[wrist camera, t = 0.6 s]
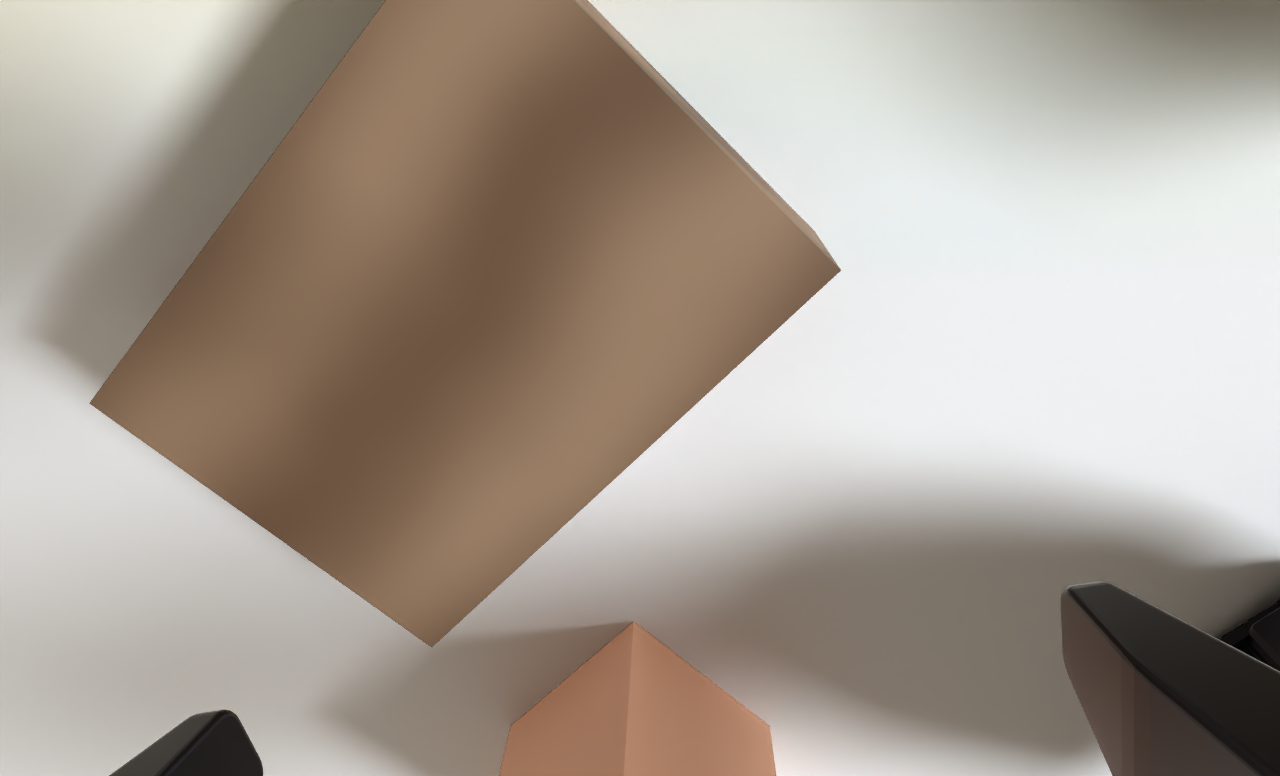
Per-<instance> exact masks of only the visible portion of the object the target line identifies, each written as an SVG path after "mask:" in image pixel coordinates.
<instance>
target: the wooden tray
mask: <svg viewBox="0 0 1280 776" xmlns="http://www.w3.org/2000/svg"><path fill="white" fill-rule="evenodd" d="M840 271H841V269H840V268H839V267H838V265H837V264H836V262H835V261H834V259H833V258H832V256H831V255H830V253H829V252H828V250H827V249H826V247H825V246H824V245H823V243H822V242H821V240H820V239H819V237H818V236H817V234H816V233H815V231H814V230H813V229H812V228H811V227H810V226H809V225H808V224H807V223H806V222H805V221H804V220H803V219H802V218H801V217H800V216H799V215H798V214H797V213H796V212H795V211H794V210H793V209H792V208H791V207H790V206H789V205H788V204H787V203H786V202H785V201H784V200H783V199H782V198H781V197H780V196H779V195H778V194H777V193H776V192H775V191H774V190H773V189H772V188H771V186H770V185H769V184H768V183H767V182H766V181H765V180H764V179H763V178H762V177H761V176H760V175H759V174H758V173H757V172H756V171H755V170H754V169H753V168H752V167H751V166H750V165H749V164H748V163H747V162H746V161H745V160H744V159H743V158H742V157H741V156H740V155H739V154H738V153H737V152H736V151H735V150H734V149H733V148H732V147H731V146H730V145H729V144H728V143H727V142H726V141H725V140H724V139H723V138H722V137H721V136H720V135H719V134H718V133H717V132H716V131H715V130H714V129H713V127H712V126H711V125H710V124H709V123H708V122H707V121H706V120H705V119H704V118H703V117H702V116H701V115H700V114H699V113H698V112H697V111H696V110H695V109H694V108H693V107H692V106H691V105H690V104H689V103H688V102H687V101H686V100H685V99H684V98H683V97H682V96H681V95H680V94H679V93H678V92H677V91H676V90H675V89H674V88H673V87H672V86H671V85H670V84H669V83H668V82H667V81H666V80H665V79H664V78H663V77H662V76H661V75H660V74H659V73H658V72H657V71H656V70H655V68H654V67H653V66H652V65H651V64H650V63H649V62H648V61H647V60H646V59H645V58H644V57H643V56H642V55H641V54H640V53H639V52H638V51H637V50H636V49H635V48H634V47H633V46H632V45H631V44H630V43H629V42H628V41H627V40H626V39H625V38H624V37H623V36H622V35H621V34H620V33H619V32H618V31H617V30H616V29H615V28H614V27H613V26H612V25H611V24H610V23H609V22H608V21H607V20H606V19H605V18H604V17H603V16H602V15H601V14H600V13H599V12H598V11H597V10H596V8H595V7H594V6H593V5H592V4H591V3H590V2H589V1H588V0H386V1H385V2H384V3H383V5H382V6H381V7H380V9H379V10H378V12H377V13H376V14H375V16H374V17H373V18H372V20H371V21H370V22H369V24H368V25H367V27H366V28H365V29H364V31H363V32H362V33H361V35H360V36H359V37H358V39H357V40H356V41H355V43H354V44H353V46H352V47H351V48H350V50H349V51H348V52H347V54H346V55H345V56H344V58H343V59H342V61H341V62H340V63H339V65H338V66H337V67H336V69H335V70H334V71H333V73H332V74H331V75H330V77H329V78H328V80H327V81H326V82H325V84H324V85H323V86H322V88H321V89H320V90H319V92H318V93H317V95H316V96H315V97H314V99H313V100H312V101H311V103H310V104H309V105H308V107H307V108H306V109H305V111H304V112H303V114H302V115H301V116H300V118H299V119H298V120H297V122H296V123H295V124H294V126H293V127H292V129H291V130H290V131H289V133H288V134H287V135H286V137H285V138H284V139H283V141H282V142H281V143H280V145H279V146H278V148H277V149H276V150H275V152H274V153H273V154H272V156H271V157H270V158H269V160H268V161H267V163H266V164H265V165H264V167H263V168H262V169H261V171H260V172H259V173H258V175H257V176H256V177H255V179H254V180H253V182H252V183H251V184H250V186H249V187H248V188H247V190H246V191H245V192H244V194H243V195H242V197H241V198H240V199H239V201H238V202H237V203H236V205H235V206H234V207H233V209H232V210H231V211H230V213H229V214H228V216H227V217H226V218H225V220H224V221H223V222H222V224H221V225H220V226H219V228H218V229H217V231H216V232H215V233H214V235H213V236H212V237H211V239H210V240H209V241H208V243H207V244H206V245H205V247H204V248H203V250H202V251H201V252H200V254H199V255H198V256H197V258H196V259H195V260H194V262H193V263H192V265H191V266H190V267H189V269H188V270H187V271H186V273H185V274H184V275H183V277H182V278H181V279H180V281H179V282H178V284H177V285H176V286H175V288H174V289H173V290H172V292H171V293H170V294H169V296H168V297H167V299H166V300H165V301H164V303H163V304H162V305H161V307H160V308H159V309H158V311H157V312H156V313H155V315H154V316H153V318H152V319H151V320H150V322H149V323H148V324H147V326H146V327H145V328H144V330H143V331H142V333H141V334H140V335H139V337H138V338H137V339H136V341H135V342H134V343H133V345H132V346H131V347H130V349H129V350H128V352H127V353H126V354H125V356H124V357H123V358H122V360H121V361H120V362H119V364H118V365H117V366H116V368H115V369H114V371H113V372H112V373H111V375H110V376H109V377H108V379H107V380H106V381H105V383H104V384H103V386H102V387H101V388H100V390H99V391H98V392H97V394H96V395H95V396H94V398H93V399H92V400H91V402H90V404H91V405H93V406H94V407H95V408H97V409H98V410H100V411H101V412H102V413H104V414H105V415H107V416H108V417H109V418H111V419H112V420H114V421H115V422H116V423H118V424H119V425H121V426H122V427H123V428H125V429H126V430H128V431H129V432H130V433H132V434H133V435H135V436H136V437H137V438H139V439H140V440H142V441H143V442H144V443H146V444H147V445H149V446H150V447H151V448H153V449H154V450H156V451H157V452H158V453H160V454H161V455H163V456H164V457H165V458H167V459H168V460H170V461H171V462H172V463H174V464H175V465H177V466H178V467H179V468H181V469H182V470H184V471H185V472H186V473H188V474H189V475H191V476H192V477H193V478H195V479H196V480H198V481H199V482H200V483H202V484H203V485H205V486H206V487H208V488H209V489H210V490H212V491H213V492H215V493H216V494H217V495H219V496H220V497H222V498H223V499H224V500H226V501H227V502H229V503H230V504H231V505H233V506H234V507H236V508H237V509H238V510H240V511H241V512H243V513H244V514H245V515H247V516H248V517H250V518H251V519H252V520H254V521H255V522H257V523H258V524H259V525H261V526H262V527H264V528H265V529H266V530H268V531H269V532H271V533H272V534H273V535H275V536H276V537H278V538H279V539H280V540H282V541H283V542H285V543H286V544H287V545H289V546H290V547H292V548H293V549H294V550H296V551H297V552H299V553H300V554H301V555H303V556H304V557H306V558H307V559H308V560H310V561H311V562H313V563H314V564H315V565H317V566H318V567H320V568H321V569H322V570H324V571H325V572H327V573H328V574H329V575H331V576H332V577H334V578H335V579H336V580H338V581H339V582H341V583H342V584H343V585H345V586H346V587H348V588H349V589H350V590H352V591H353V592H355V593H356V594H357V595H359V596H360V597H362V598H363V599H364V600H366V601H367V602H369V603H370V604H371V605H373V606H374V607H376V608H377V609H378V610H380V611H381V612H383V613H384V614H385V615H387V616H388V617H390V618H391V619H392V620H394V621H395V622H397V623H398V624H399V625H401V626H402V627H404V628H405V629H406V630H408V631H409V632H411V633H412V634H414V635H415V636H416V637H418V638H419V639H421V640H422V641H423V642H425V643H426V644H428V645H429V646H430V647H433V646H434V645H435V644H436V643H437V642H438V641H439V640H440V639H441V638H443V637H444V636H445V635H446V634H447V633H448V632H449V631H450V630H451V629H452V628H453V627H454V626H456V625H457V624H458V623H459V622H460V621H461V620H462V619H463V618H464V617H465V616H466V615H467V614H469V613H470V612H471V611H472V610H473V609H474V608H475V607H476V606H477V605H478V604H479V603H480V602H482V601H483V600H484V599H485V598H486V597H487V596H488V595H489V594H490V593H491V592H492V591H494V590H495V589H496V588H497V587H498V586H499V585H500V584H501V583H502V582H503V581H504V580H505V579H507V578H508V577H509V576H510V575H511V574H512V573H513V572H514V571H515V570H516V569H517V568H518V567H520V566H521V565H522V564H523V563H524V562H525V561H526V560H527V559H528V558H529V557H530V556H531V555H533V554H534V553H535V552H536V551H537V550H538V549H539V548H540V547H541V546H542V545H543V544H545V543H546V542H547V541H548V540H549V539H550V538H551V537H552V536H553V535H554V534H555V533H556V532H558V531H559V530H560V529H561V528H562V527H563V526H564V525H565V524H566V523H567V522H568V521H569V520H571V519H572V518H573V517H574V516H575V515H576V514H577V513H578V512H579V511H580V510H581V509H583V508H584V507H585V506H586V505H587V504H588V503H589V502H590V501H591V500H592V499H593V498H594V497H596V496H597V495H598V494H599V493H600V492H601V491H602V490H603V489H604V488H605V487H606V486H607V485H609V484H610V483H611V482H612V481H613V480H614V479H615V478H616V477H617V476H618V475H619V474H620V473H622V472H623V471H624V470H625V469H626V468H627V467H628V466H629V465H630V464H631V463H632V462H634V461H635V460H636V459H637V458H638V457H639V456H640V455H641V454H642V453H643V452H644V451H645V450H647V449H648V448H649V447H650V446H651V445H652V444H653V443H654V442H655V441H656V440H657V439H658V438H660V437H661V436H662V435H663V434H664V433H665V432H666V431H667V430H668V429H669V428H670V427H671V426H673V425H674V424H675V423H676V422H677V421H678V420H679V419H680V418H681V417H682V416H683V415H685V414H686V413H687V412H688V411H689V410H690V409H691V408H692V407H693V406H694V405H695V404H696V403H698V402H699V401H700V400H701V399H702V398H703V397H704V396H705V395H706V394H707V393H708V392H709V391H711V390H712V389H713V388H714V387H715V386H716V385H717V384H718V383H719V382H720V381H721V380H723V379H724V378H725V377H726V376H727V375H728V374H729V373H730V372H731V371H732V370H733V369H734V368H736V367H737V366H738V365H739V364H740V363H741V362H742V361H743V360H744V359H745V358H746V357H747V356H749V355H750V354H751V353H752V352H753V351H754V350H755V349H756V348H757V347H758V346H759V345H760V344H762V343H763V342H764V341H765V340H766V339H767V338H768V337H769V336H770V335H771V334H772V333H774V332H775V331H776V330H777V329H778V328H779V327H780V326H781V325H782V324H783V323H784V322H785V321H787V320H788V319H789V318H790V317H791V316H792V315H793V314H794V313H795V312H796V311H797V310H798V309H800V308H801V307H802V306H803V305H804V304H805V303H806V302H807V301H808V300H809V299H810V298H811V297H813V296H814V295H815V294H816V293H817V292H818V291H819V290H820V289H821V288H822V287H823V286H825V285H826V284H827V283H828V282H829V281H830V280H831V279H832V278H833V277H834V276H835V275H836V274H838V273H839V272H840Z"/></svg>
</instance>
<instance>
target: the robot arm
mask: <svg viewBox="0 0 1280 776" xmlns="http://www.w3.org/2000/svg"><path fill="white" fill-rule="evenodd" d="M1061 623H1062V648H1063V657H1064V662H1065V666H1066V669H1067V672H1068V675H1069V677H1070V680H1071V682H1072V684H1073V687H1074V689H1075V691H1076V694H1077V696H1078V698H1079V700H1080V703H1081V705H1082V707H1083V709H1084V712H1085V714H1086V716H1087V719H1088V721H1089V723H1090V725H1091V728H1092V730H1093V732H1094V735H1095V737H1096V739H1097V741H1098V744H1099V746H1100V748H1101V750H1102V753H1103V755H1104V757H1105V760H1106V762H1107V764H1108V766H1109V769H1110V771H1111V773H1112V775H1113V776H1280V601H1279V602H1278V603H1276V604H1274V605H1273V606H1271V607H1270V608H1268V609H1267V610H1265V611H1263V612H1262V613H1260V614H1259V615H1257V616H1255V617H1254V618H1252V619H1251V620H1249V621H1248V622H1246V623H1244V624H1243V625H1241V626H1240V627H1238V628H1237V629H1235V630H1233V631H1232V632H1230V633H1229V634H1227V635H1225V636H1224V637H1222V638H1221V639H1217V638H1215V637H1213V636H1211V635H1209V634H1207V633H1206V632H1204V631H1202V630H1200V629H1198V628H1196V627H1194V626H1192V625H1190V624H1189V623H1187V622H1185V621H1183V620H1181V619H1179V618H1177V617H1175V616H1173V615H1171V614H1170V613H1168V612H1166V611H1164V610H1162V609H1160V608H1158V607H1156V606H1154V605H1152V604H1151V603H1149V602H1147V601H1145V600H1143V599H1141V598H1139V597H1137V596H1135V595H1133V594H1132V593H1130V592H1128V591H1126V590H1124V589H1122V588H1120V587H1118V586H1116V585H1114V584H1112V583H1110V582H1106V581H1097V582H1090V583H1083V584H1076V585H1070V586H1067V587H1066V588H1065V589H1064V590H1063V591H1062V594H1061ZM110 776H263V767H262V762H261V760H260V757H259V756H258V754H257V752H256V750H255V748H254V746H253V744H252V742H251V740H250V739H249V737H248V735H247V733H246V731H245V729H244V727H243V725H242V723H241V722H240V720H239V718H238V717H237V715H236V714H234V713H233V712H231V711H229V710H218V711H211V712H205V713H199V714H195V715H193V716H191V717H189V718H188V719H186V720H185V721H183V722H182V723H181V724H179V725H178V726H177V727H175V728H174V729H173V730H171V731H170V732H168V733H167V734H166V735H164V736H163V737H162V738H160V739H159V740H158V741H156V742H155V743H153V744H152V745H151V746H149V747H148V748H147V749H145V750H144V751H143V752H141V753H140V754H138V755H137V756H136V757H134V758H133V759H132V760H130V761H129V762H127V763H126V764H125V765H123V766H122V767H121V768H119V769H118V770H117V771H115V772H114V773H112V774H111V775H110Z"/></svg>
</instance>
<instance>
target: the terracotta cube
mask: <svg viewBox="0 0 1280 776" xmlns="http://www.w3.org/2000/svg"><path fill="white" fill-rule="evenodd" d="M499 776H776V770H775V763H774V755H773V748H772V741H771V733H770V726H769V725H768V724H766V723H765V722H764V721H762V720H761V719H760V718H759V717H757V716H756V715H755V714H753V713H752V712H751V711H749V710H748V709H747V708H746V707H744V706H743V705H742V704H740V703H739V702H738V701H736V700H735V699H734V698H733V697H731V696H730V695H729V694H727V693H726V692H725V691H723V690H722V689H721V688H720V687H718V686H717V685H716V684H714V683H713V682H712V681H710V680H709V679H708V678H707V677H705V676H704V675H703V674H701V673H700V672H699V671H697V670H696V669H695V668H694V667H692V666H691V665H690V664H688V663H687V662H686V661H684V660H683V659H682V658H681V657H679V656H678V655H677V654H675V653H674V652H673V651H671V650H670V649H669V648H668V647H666V646H665V645H664V644H662V643H661V642H660V641H658V640H657V639H656V638H655V637H653V636H652V635H651V634H649V633H648V632H647V631H645V630H644V629H643V628H642V627H640V626H639V625H638V624H636V623H635V622H633V623H631V624H630V625H629V626H628V627H627V628H626V629H624V630H623V631H622V632H621V633H620V634H618V635H617V636H616V637H615V638H614V639H613V640H611V641H610V642H609V643H608V644H607V645H606V646H604V647H603V648H602V649H601V650H600V651H598V652H597V653H596V654H595V655H594V656H593V657H591V658H590V659H589V660H588V661H587V662H586V663H584V664H583V665H582V666H581V667H580V668H578V669H577V670H576V671H575V672H574V673H573V674H571V675H570V676H569V677H568V678H567V679H565V680H564V681H563V682H562V683H561V684H560V685H558V686H557V687H556V688H555V689H554V690H553V691H551V692H550V693H549V694H548V695H547V696H545V697H544V698H543V699H542V700H541V701H540V702H538V703H537V704H536V705H535V706H534V707H533V708H531V709H530V710H529V711H528V712H527V713H525V714H524V715H523V716H522V717H521V718H520V719H518V720H517V721H516V722H515V723H514V724H512V725H511V726H510V731H509V735H508V739H507V744H506V748H505V752H504V756H503V761H502V765H501V769H500V774H499Z"/></svg>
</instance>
